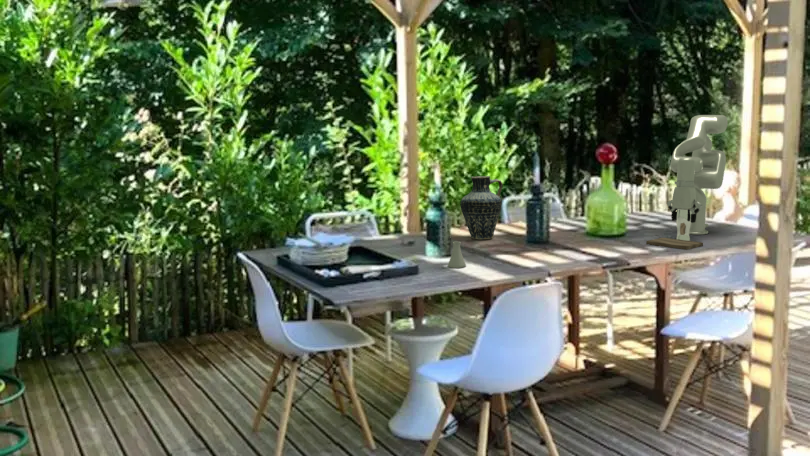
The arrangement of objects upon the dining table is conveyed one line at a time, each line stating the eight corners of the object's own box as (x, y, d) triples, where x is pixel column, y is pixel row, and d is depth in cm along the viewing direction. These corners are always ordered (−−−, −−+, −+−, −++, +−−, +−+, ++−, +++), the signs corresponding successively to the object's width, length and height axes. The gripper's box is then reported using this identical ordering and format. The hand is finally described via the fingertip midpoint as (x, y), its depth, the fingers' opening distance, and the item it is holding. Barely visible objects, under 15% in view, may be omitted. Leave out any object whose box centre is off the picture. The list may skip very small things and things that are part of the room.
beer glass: (691, 241, 379) (693, 209, 376) (676, 241, 380) (677, 209, 378) (689, 239, 385) (691, 207, 383) (674, 239, 387) (675, 207, 385)
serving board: (663, 240, 383) (663, 237, 383) (702, 245, 368) (703, 242, 368) (646, 244, 374) (646, 240, 373) (686, 249, 359) (686, 246, 359)
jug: (472, 243, 381) (472, 178, 376) (453, 237, 398) (453, 175, 394) (511, 239, 389) (511, 176, 385) (490, 234, 407) (490, 173, 402)
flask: (453, 264, 331) (453, 239, 330) (469, 266, 327) (469, 241, 326) (444, 267, 325) (444, 242, 324) (459, 269, 321) (459, 244, 320)
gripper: (664, 183, 383) (662, 220, 385) (698, 186, 370) (696, 223, 372) (672, 183, 388) (671, 219, 390) (706, 185, 375) (705, 222, 377)
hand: (683, 221), depth 381 cm, fingers open, 9 cm apart
